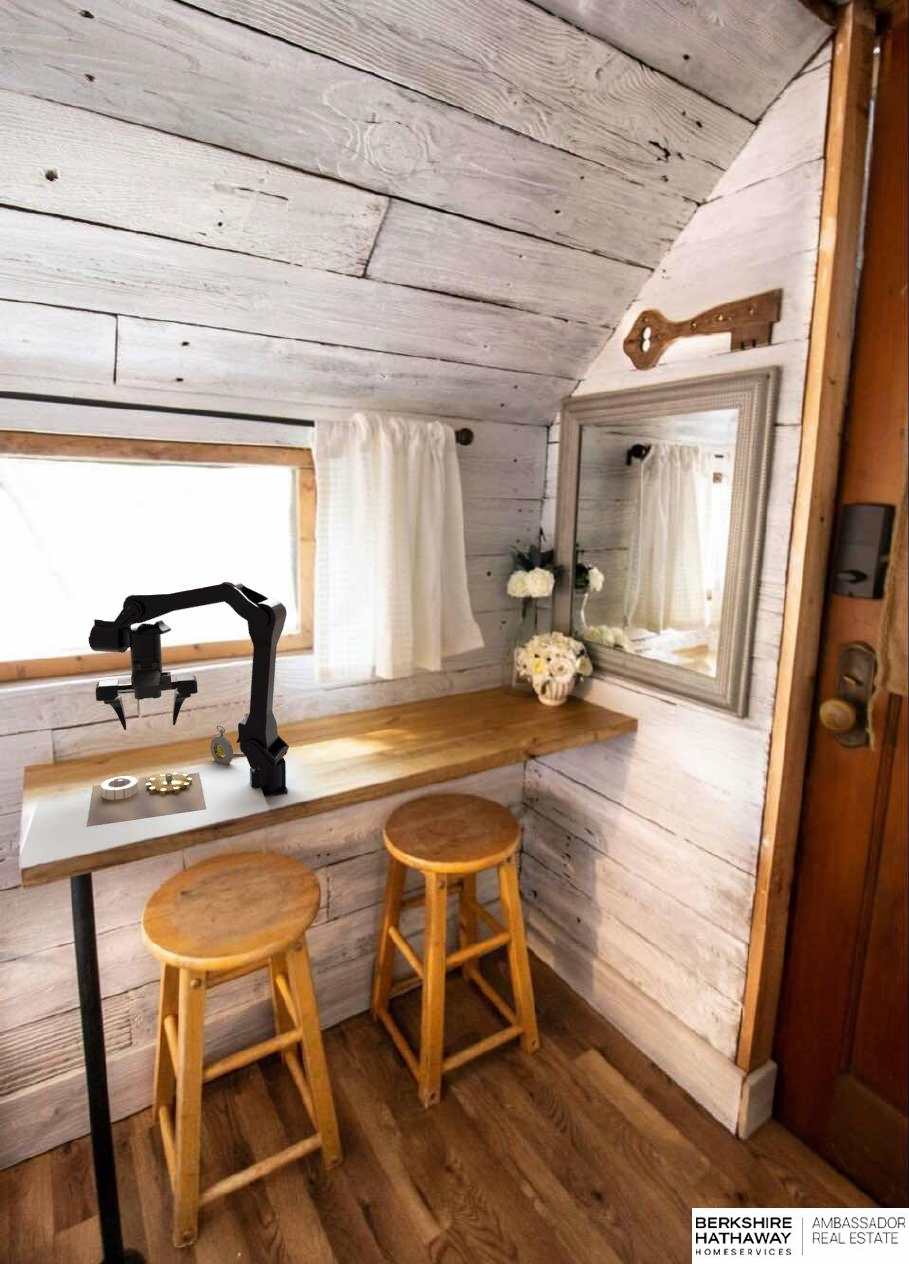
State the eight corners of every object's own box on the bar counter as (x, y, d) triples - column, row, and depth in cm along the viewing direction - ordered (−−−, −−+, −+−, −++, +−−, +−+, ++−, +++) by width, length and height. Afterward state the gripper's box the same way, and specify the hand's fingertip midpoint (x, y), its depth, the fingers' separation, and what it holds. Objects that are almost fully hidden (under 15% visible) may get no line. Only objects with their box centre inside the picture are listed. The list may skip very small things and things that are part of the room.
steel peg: (125, 789, 136) (125, 777, 135) (125, 793, 134) (124, 781, 133) (114, 791, 135) (113, 778, 134) (114, 795, 133) (113, 782, 132)
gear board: (199, 779, 145) (199, 772, 145) (206, 816, 129) (206, 808, 129) (93, 792, 137) (93, 785, 137) (87, 834, 121) (86, 826, 121)
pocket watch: (253, 758, 158) (252, 716, 156) (243, 772, 149) (242, 729, 147) (217, 757, 157) (216, 715, 155) (205, 771, 149) (204, 728, 147)
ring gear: (138, 783, 138) (137, 774, 138) (137, 796, 133) (137, 787, 132) (102, 788, 136) (102, 778, 135) (100, 801, 130) (100, 791, 130)
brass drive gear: (190, 775, 143) (190, 764, 143) (193, 791, 136) (192, 780, 136) (146, 780, 140) (145, 770, 139) (146, 797, 132) (145, 786, 132)
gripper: (91, 666, 127) (96, 745, 130) (198, 660, 134) (200, 735, 137) (95, 653, 137) (100, 727, 140) (194, 647, 144) (197, 718, 147)
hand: (150, 727), depth 141 cm, fingers open, 9 cm apart
